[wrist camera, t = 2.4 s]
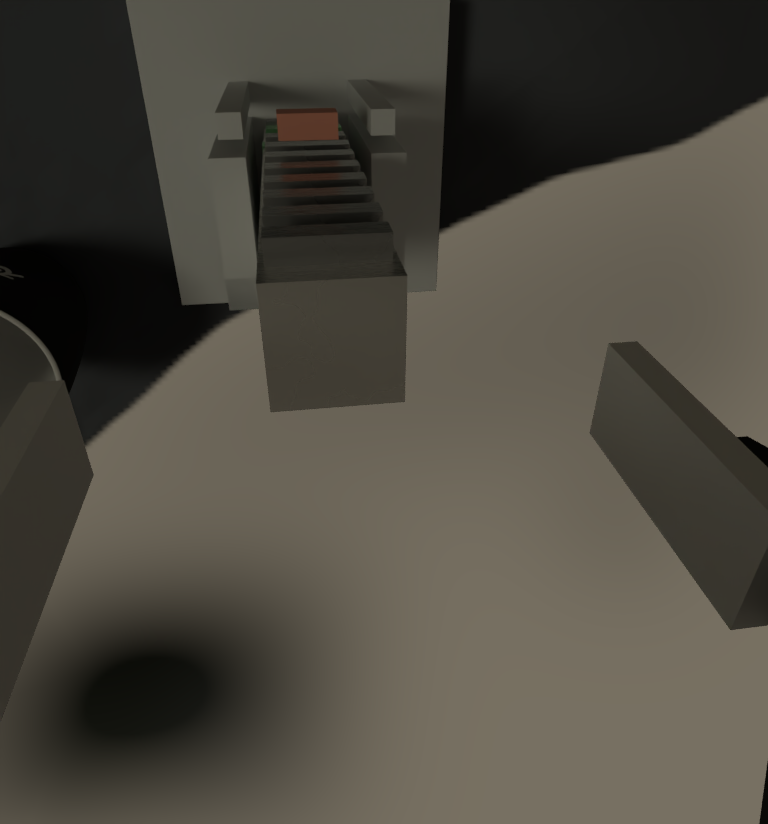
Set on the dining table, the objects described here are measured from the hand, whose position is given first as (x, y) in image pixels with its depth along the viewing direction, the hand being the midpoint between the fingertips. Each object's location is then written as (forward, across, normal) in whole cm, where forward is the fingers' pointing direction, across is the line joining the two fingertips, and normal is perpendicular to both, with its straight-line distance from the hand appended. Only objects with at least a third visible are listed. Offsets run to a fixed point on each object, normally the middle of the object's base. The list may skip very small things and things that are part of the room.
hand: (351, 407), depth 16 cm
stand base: (+27, 0, 0) cm, 27 cm away
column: (+25, 0, +1) cm, 25 cm away
